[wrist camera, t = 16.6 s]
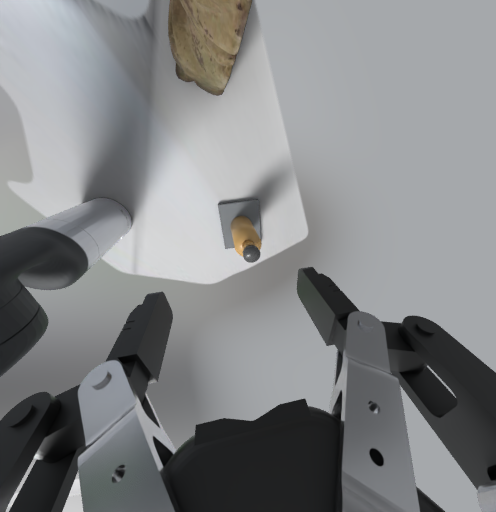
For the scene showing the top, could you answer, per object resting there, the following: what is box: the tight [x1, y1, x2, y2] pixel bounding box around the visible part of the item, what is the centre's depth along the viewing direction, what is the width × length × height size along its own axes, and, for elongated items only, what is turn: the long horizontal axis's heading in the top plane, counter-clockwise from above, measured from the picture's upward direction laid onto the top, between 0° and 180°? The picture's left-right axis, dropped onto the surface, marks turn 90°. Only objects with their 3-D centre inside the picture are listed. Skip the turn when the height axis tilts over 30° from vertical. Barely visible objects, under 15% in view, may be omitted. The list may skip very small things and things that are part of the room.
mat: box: [218, 199, 261, 249], centre depth 46 cm, size 10×12×1 cm
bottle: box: [230, 216, 261, 262], centre depth 40 cm, size 6×6×15 cm
